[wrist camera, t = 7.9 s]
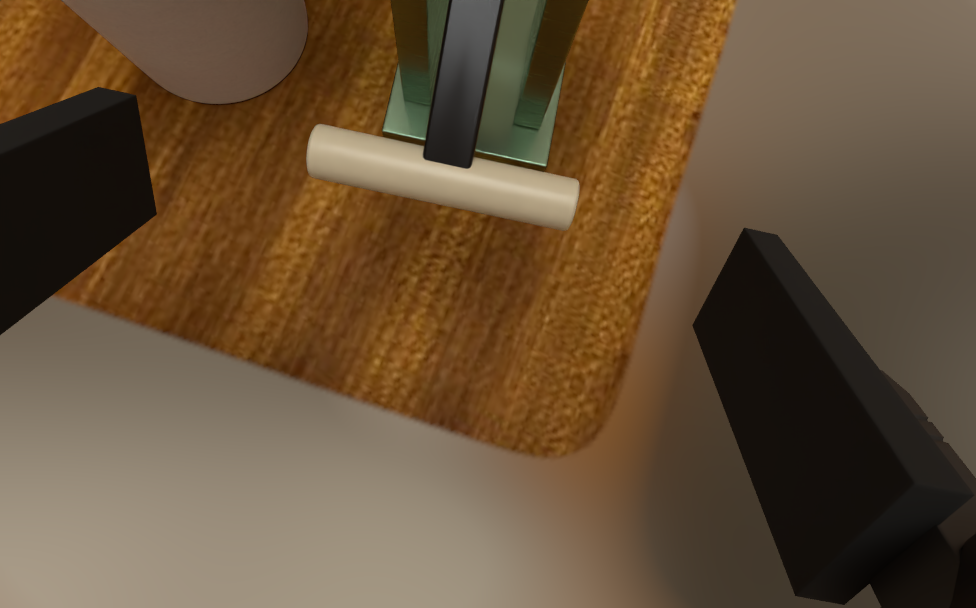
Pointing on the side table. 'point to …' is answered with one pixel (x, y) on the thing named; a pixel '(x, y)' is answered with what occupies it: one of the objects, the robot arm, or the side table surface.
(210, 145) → the side table surface
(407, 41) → the bracket
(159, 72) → the coffee cup
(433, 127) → the lever
